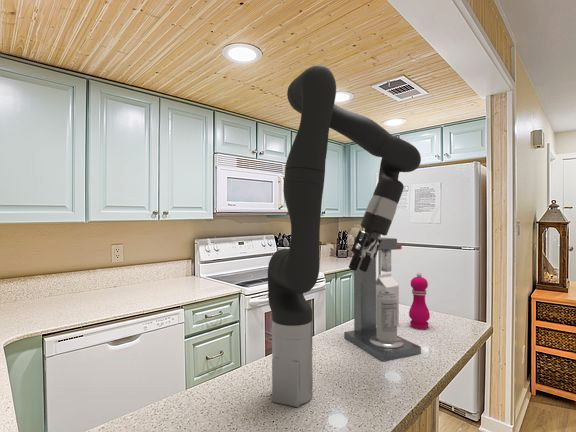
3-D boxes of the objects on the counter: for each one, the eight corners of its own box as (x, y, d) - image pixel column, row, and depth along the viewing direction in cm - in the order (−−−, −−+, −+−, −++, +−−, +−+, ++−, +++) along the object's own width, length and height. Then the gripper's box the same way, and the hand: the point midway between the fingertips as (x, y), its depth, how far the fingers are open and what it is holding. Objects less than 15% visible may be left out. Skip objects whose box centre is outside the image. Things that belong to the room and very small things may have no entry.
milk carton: (399, 325, 127) (398, 274, 127) (386, 328, 123) (386, 276, 123) (383, 320, 133) (383, 272, 133) (371, 323, 129) (371, 273, 129)
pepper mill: (433, 330, 121) (433, 274, 121) (412, 330, 121) (412, 274, 121) (425, 323, 128) (425, 271, 129) (406, 323, 129) (406, 271, 129)
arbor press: (441, 349, 104) (440, 238, 104) (382, 361, 95) (382, 240, 95) (396, 329, 122) (396, 235, 122) (344, 337, 114) (343, 236, 114)
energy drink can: (393, 337, 107) (393, 289, 107) (399, 344, 101) (399, 294, 101) (374, 337, 107) (374, 289, 107) (379, 344, 101) (379, 294, 101)
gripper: (374, 215, 101) (354, 266, 101) (358, 205, 89) (335, 263, 89) (398, 223, 97) (377, 276, 97) (385, 214, 85) (361, 274, 85)
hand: (357, 270), depth 93 cm, fingers open, 8 cm apart
